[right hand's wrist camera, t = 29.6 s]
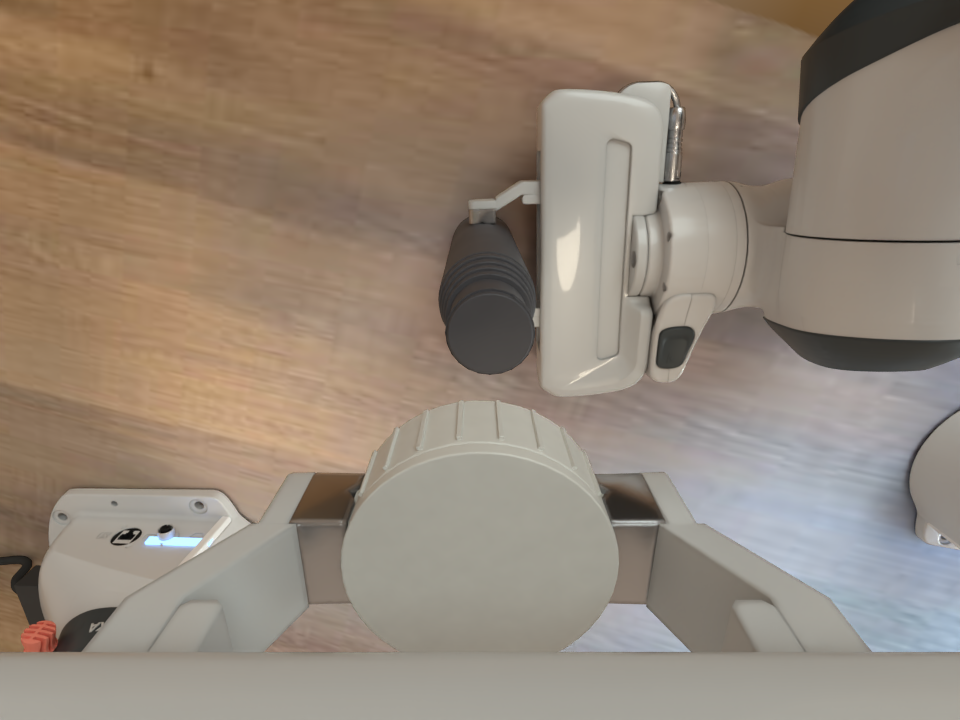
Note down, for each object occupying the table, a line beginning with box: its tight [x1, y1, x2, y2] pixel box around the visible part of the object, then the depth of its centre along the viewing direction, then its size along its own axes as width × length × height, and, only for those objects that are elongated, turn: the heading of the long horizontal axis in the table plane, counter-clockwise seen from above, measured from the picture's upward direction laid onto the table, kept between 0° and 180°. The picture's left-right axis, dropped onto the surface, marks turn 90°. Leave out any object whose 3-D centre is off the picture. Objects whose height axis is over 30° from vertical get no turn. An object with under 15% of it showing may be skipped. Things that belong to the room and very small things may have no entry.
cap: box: [341, 400, 619, 652], centre depth 10 cm, size 5×5×2 cm
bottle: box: [439, 217, 536, 375], centre depth 31 cm, size 5×5×22 cm
